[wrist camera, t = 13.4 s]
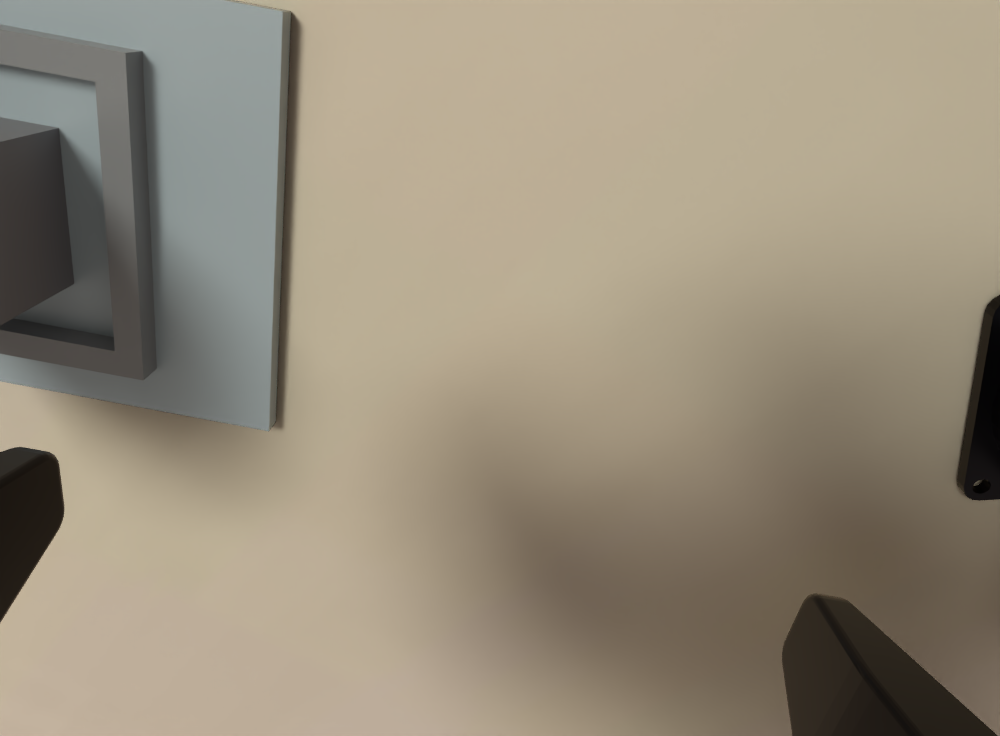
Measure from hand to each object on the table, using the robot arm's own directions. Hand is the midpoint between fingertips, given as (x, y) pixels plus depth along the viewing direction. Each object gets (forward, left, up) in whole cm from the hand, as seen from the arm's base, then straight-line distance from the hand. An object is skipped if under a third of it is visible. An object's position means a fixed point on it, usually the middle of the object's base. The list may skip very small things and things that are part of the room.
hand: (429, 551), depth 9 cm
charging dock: (+3, +14, -13) cm, 19 cm away
